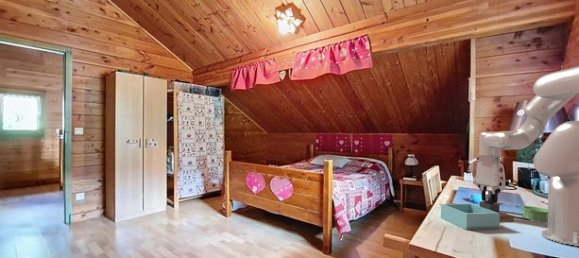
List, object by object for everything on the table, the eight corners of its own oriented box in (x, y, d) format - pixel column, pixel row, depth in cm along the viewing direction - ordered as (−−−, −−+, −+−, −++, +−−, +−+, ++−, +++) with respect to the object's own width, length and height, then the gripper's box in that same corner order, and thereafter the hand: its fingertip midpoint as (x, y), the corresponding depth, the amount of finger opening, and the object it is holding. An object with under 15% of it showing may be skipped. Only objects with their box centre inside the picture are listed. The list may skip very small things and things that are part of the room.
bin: (499, 228, 104) (499, 213, 104) (466, 230, 102) (466, 214, 102) (470, 217, 118) (470, 203, 118) (440, 218, 116) (440, 204, 116)
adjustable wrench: (550, 212, 129) (550, 208, 129) (549, 215, 125) (549, 211, 125) (486, 201, 148) (486, 198, 148) (483, 203, 143) (483, 200, 143)
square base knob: (499, 213, 117) (499, 192, 117) (490, 214, 115) (491, 192, 116) (487, 210, 122) (487, 189, 122) (479, 210, 120) (479, 190, 120)
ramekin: (517, 217, 120) (517, 207, 120) (528, 214, 123) (528, 205, 123) (543, 223, 112) (543, 212, 112) (554, 221, 115) (554, 210, 115)
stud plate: (513, 220, 114) (513, 209, 114) (488, 221, 112) (488, 210, 112) (489, 212, 126) (489, 202, 126) (465, 212, 124) (465, 202, 124)
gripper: (516, 161, 112) (516, 206, 112) (477, 157, 128) (477, 196, 128) (503, 161, 110) (503, 207, 110) (465, 158, 126) (465, 197, 125)
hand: (489, 201), depth 119 cm, fingers closed on square base knob, 3 cm apart
